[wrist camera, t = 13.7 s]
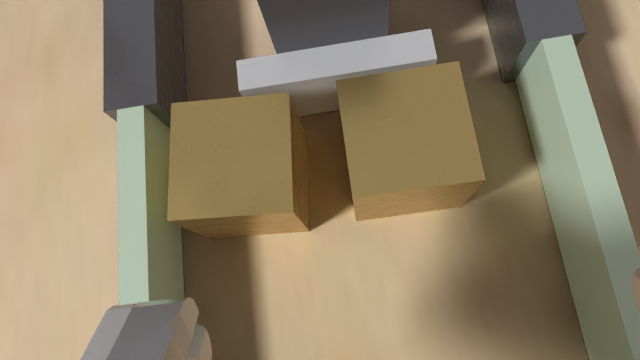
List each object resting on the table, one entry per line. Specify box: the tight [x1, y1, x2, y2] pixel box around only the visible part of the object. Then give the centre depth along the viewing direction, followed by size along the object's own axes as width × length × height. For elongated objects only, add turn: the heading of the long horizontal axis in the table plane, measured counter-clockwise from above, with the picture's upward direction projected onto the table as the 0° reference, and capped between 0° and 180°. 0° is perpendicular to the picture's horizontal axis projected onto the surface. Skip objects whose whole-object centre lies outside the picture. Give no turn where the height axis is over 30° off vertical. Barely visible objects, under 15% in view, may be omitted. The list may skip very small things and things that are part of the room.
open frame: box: [117, 34, 640, 360], centre depth 16 cm, size 13×16×3 cm
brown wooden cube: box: [167, 92, 309, 238], centre depth 17 cm, size 4×4×4 cm
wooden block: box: [336, 61, 486, 221], centre depth 17 cm, size 4×4×4 cm
